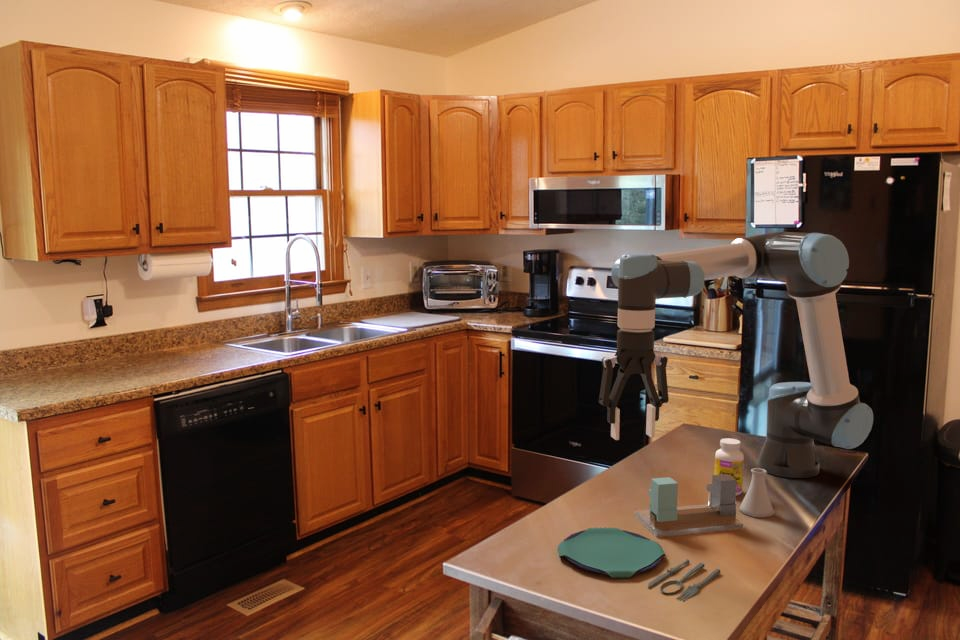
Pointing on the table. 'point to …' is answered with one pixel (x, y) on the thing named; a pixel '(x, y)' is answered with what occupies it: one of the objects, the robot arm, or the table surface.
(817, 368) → the robot arm
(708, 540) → the table surface
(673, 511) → the block
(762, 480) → the flask
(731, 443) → the supplement bottle
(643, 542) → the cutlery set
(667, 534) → the base
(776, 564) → the table surface
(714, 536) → the table surface
